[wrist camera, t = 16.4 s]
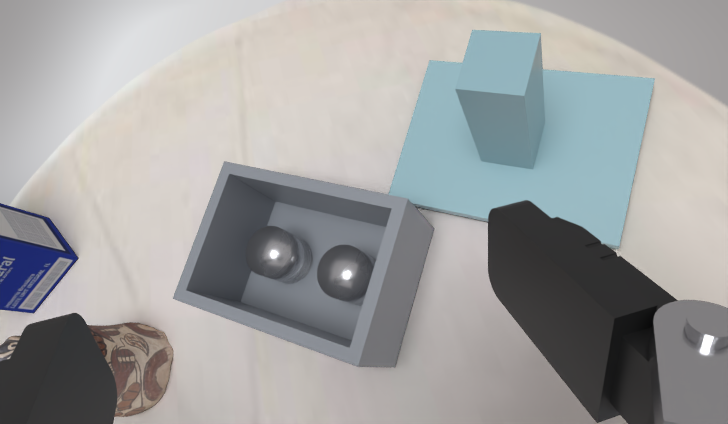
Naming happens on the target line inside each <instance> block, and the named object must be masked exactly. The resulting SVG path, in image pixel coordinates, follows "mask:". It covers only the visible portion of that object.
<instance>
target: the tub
mask: <svg viewBox="0 0 728 424" xmlns="http://www.w3.org/2000/svg"><path fill="white" fill-rule="evenodd" d="M266 226H277V227H279V228H281V229H283V230H285V231H287V232H289V233H291V234H293V235H295V236H297V237H299V238H301V239H303V240H304V241H306V242H307V243H308V244H309V246H310V248H311V250H312V253H313V263H312V266H311V269H310V271H309V273H308V274H307V275H306V276H305V277H304V278H303V279H302V280H300V281H299V282H296V283H292V284H287V283H283V282H280V281H277V280H274V279H270V278H267V277H264V276H261V275H258V274H256V273H254V272H253V271H252V270H251V269H250V268H249V266H248V264H247V261H246V247H247V244H248V242H249V240H250V238H251V237H252V235H253V234H254V233H255V232H256V231H258V230H259V229H261V228H263V227H266ZM433 231H434V228H433V227H432V226H431V225H430V223H429V222H428V221H427V220H426V219H425V218H424V216H423V215H422V214H421V213H420V212H419V211H418V210H417V208H416V207H415V206H414V205H413V204H412V203H411V202H410V200H409V199H407V198H402V197H398V196H393V195H388V194H383V193H378V192H373V191H368V190H363V189H358V188H353V187H348V186H343V185H338V184H333V183H329V182H324V181H319V180H314V179H309V178H304V177H299V176H294V175H289V174H284V173H279V172H274V171H269V170H264V169H260V168H255V167H250V166H245V165H240V164H235V163H230V162H225V161H224V163H223V166H222V169H221V171H220V174H219V177H218V179H217V182H216V185H215V187H214V190H213V193H212V195H211V198H210V201H209V203H208V206H207V209H206V211H205V214H204V217H203V219H202V222H201V225H200V227H199V230H198V233H197V235H196V238H195V241H194V243H193V246H192V249H191V251H190V254H189V257H188V259H187V262H186V265H185V267H184V270H183V273H182V275H181V278H180V281H179V283H178V286H177V289H176V291H175V294H174V297H173V299H175V300H178V301H180V302H183V303H186V304H189V305H191V306H194V307H197V308H200V309H202V310H205V311H208V312H210V313H213V314H216V315H219V316H221V317H224V318H227V319H229V320H232V321H235V322H238V323H240V324H243V325H246V326H249V327H251V328H254V329H257V330H259V331H262V332H265V333H268V334H270V335H273V336H276V337H278V338H281V339H284V340H287V341H289V342H292V343H295V344H298V345H300V346H303V347H306V348H308V349H311V350H314V351H317V352H319V353H322V354H325V355H327V356H330V357H333V358H336V359H338V360H341V361H344V362H346V363H349V364H352V365H355V366H357V367H395V365H396V361H397V358H398V354H399V350H400V347H401V343H402V340H403V336H404V333H405V329H406V326H407V322H408V319H409V315H410V312H411V308H412V305H413V301H414V298H415V294H416V291H417V287H418V284H419V280H420V276H421V273H422V269H423V266H424V262H425V259H426V255H427V252H428V248H429V245H430V241H431V238H432V234H433ZM338 245H351V246H353V247H356V248H357V249H359V250H360V251H362V252H364V253H365V254H367V255H369V256H370V257H372V258H374V259H375V260H376V262H375V266H374V269H373V272H372V276H371V279H370V282H369V285H368V289H367V292H366V295H365V299H364V302H363V305H354V304H351V303H348V302H345V301H341V300H338V299H335V298H332V297H330V296H328V295H327V294H326V293H324V292H323V290H322V289H321V287H320V286H319V283H318V280H317V268H318V264H319V262H320V260H321V258H322V256H323V255H324V254H325V253H326V252H327V251H328V250H329V249H331V248H333V247H335V246H338Z"/></svg>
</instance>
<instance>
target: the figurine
mask: <svg viewBox="0 0 728 424" xmlns="http://www.w3.org/2000/svg"><path fill="white" fill-rule="evenodd" d="M87 326H88V328H89V329H90V331H91V333H92V335H93V337H94V339H95V341H96V342H97V344H98V346H99V348H100V350H101V352H102V354H103V355H104V357H105V359H106V361H107V363H108V365H109V367H110V368H111V370H112V372H113V375H114V378H115V382H116V387H117V407H116V412H115V416H114V417H124V416H131V415H134V414H138V413H141V412H143V411H145V410H146V409H148V408H150V407H152V406H154V405H155V404H156V403H157V402H158V401H159V400H160V399H161V397H162V396H163V395H164V393H165V388H166V386H167V383H168V380H169V375H170V370H171V369H170V365H171V362H172V358H173V349H172V347H171V346H170V344H169V342H168V340H167V337H166V335H165V333H164V332H161V331H159V330H156V329H155V328H152V327H148V326H147V325H142V324H139V323H123V324H118V325H109V326H92V325H87ZM20 337H21V336H11V337H9V338H8V339H7V340H6V341H5V342H4V343H3V344H2V345H1V346H0V361H2V360H6V359H10V357H11V355H12V353H13V351H14V349H15V347H16V345H17V343H18V341H19V339H20Z"/></svg>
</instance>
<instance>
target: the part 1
mask: <svg viewBox="0 0 728 424" xmlns="http://www.w3.org/2000/svg"><path fill="white" fill-rule="evenodd" d="M246 261H247V264H248V266H249V268H250V269H251V270H252V271H253V272H254V273H256V274H258V275H261V276H264V277H267V278H270V279H274V280H277V281H280V282H283V283H287V284H292V283H296V282H299V281H300V280H302V279H303V278H304V277H305V276H306V275H307V274H308V273H309V271H310V269H311V266H312V263H313V253H312V250H311V248H310V246H309V244H308V243H307V242H306V241H304V240H303V239H301V238H299V237H297V236H295V235H293V234H291V233H289V232H287V231H285V230H283V229H281V228H279V227H277V226H266V227H263V228H261V229H259V230H258V231H256V232H255V233H254V234H253V235H252V237H251V238H250V240H249V242H248V244H247V247H246Z"/></svg>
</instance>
